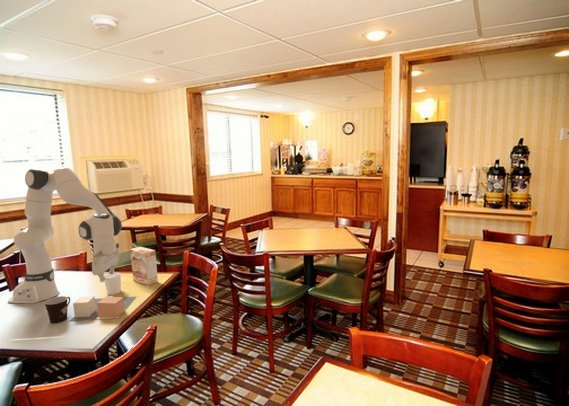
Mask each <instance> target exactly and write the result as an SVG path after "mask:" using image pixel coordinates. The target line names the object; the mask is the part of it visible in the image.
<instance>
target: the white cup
mask: <svg viewBox="0 0 569 406" xmlns="http://www.w3.org/2000/svg"><path fill="white" fill-rule="evenodd" d="M104 277H105V279H106V280H105V281H104V283H105V290H106V293H107V295H110V296H113V295H116V294H119V293H121V291H122V286H121V285H122V284H121V282H122V281H121V273H120V272H114V274H109V273H108V274H104Z"/></svg>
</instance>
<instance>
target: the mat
mask: <svg viewBox="0 0 569 406" xmlns="http://www.w3.org/2000/svg"><path fill="white" fill-rule="evenodd" d="M123 297H124V306H125V311H124V312H123V313H122V314H121V315H120V316H118V317H117V318H113V317H99V315H98V306H97V303H98V302H99V301H101V300H102V299H103V298H95V305H96V311H95V312H94V313H93V314H92V315H91V316H90V317H75V315H74V316H73V317H72V318H71V319H70V320H69V322H81V321H82V322H83V321H84V322H85V321H95V320H96V321H101V320H118V319H120V318H121V317H122V316H123V314H124V313H125V312H126V311H127V309H128V308H129V307H130V305H131V304H132V303H133V302H134V301H135V300H136V299H137V296H123Z"/></svg>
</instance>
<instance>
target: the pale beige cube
mask: <svg viewBox="0 0 569 406" xmlns="http://www.w3.org/2000/svg"><path fill="white" fill-rule="evenodd" d="M95 299H96V298H95V296H80V297H79V298H78V299H76V300H75V301H74V302H73V303H72V305H73V315H74V316H75V317H90V316H91V315H92V314H93V313H94V312H95V311H96V305H95Z"/></svg>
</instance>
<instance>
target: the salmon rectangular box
mask: <svg viewBox="0 0 569 406" xmlns="http://www.w3.org/2000/svg"><path fill="white" fill-rule="evenodd" d="M124 297H125V296H123V297H122V296H121V297H120V296H113V297H110V296H105V297H104V298H103V299H102V300H101V301H99V302H98V303H97V306H98V315H99V317H113V318H117V317H118V316H120V315H121V314H122V313H123V312H124V311H125V306H124ZM125 312H126V311H125ZM125 312H124V313H125ZM124 313H123V314H124ZM123 314H122V315H123ZM122 315H121V316H122Z"/></svg>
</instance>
